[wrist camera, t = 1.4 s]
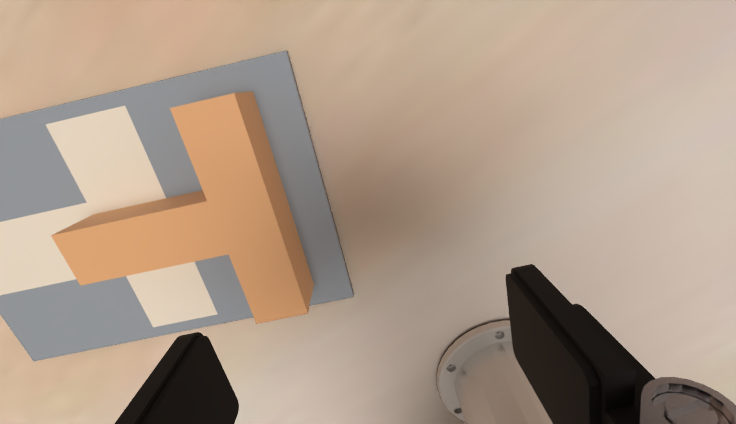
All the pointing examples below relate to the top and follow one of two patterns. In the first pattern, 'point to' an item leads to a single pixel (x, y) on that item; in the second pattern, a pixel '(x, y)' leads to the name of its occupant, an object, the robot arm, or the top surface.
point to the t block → (208, 216)
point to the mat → (136, 186)
